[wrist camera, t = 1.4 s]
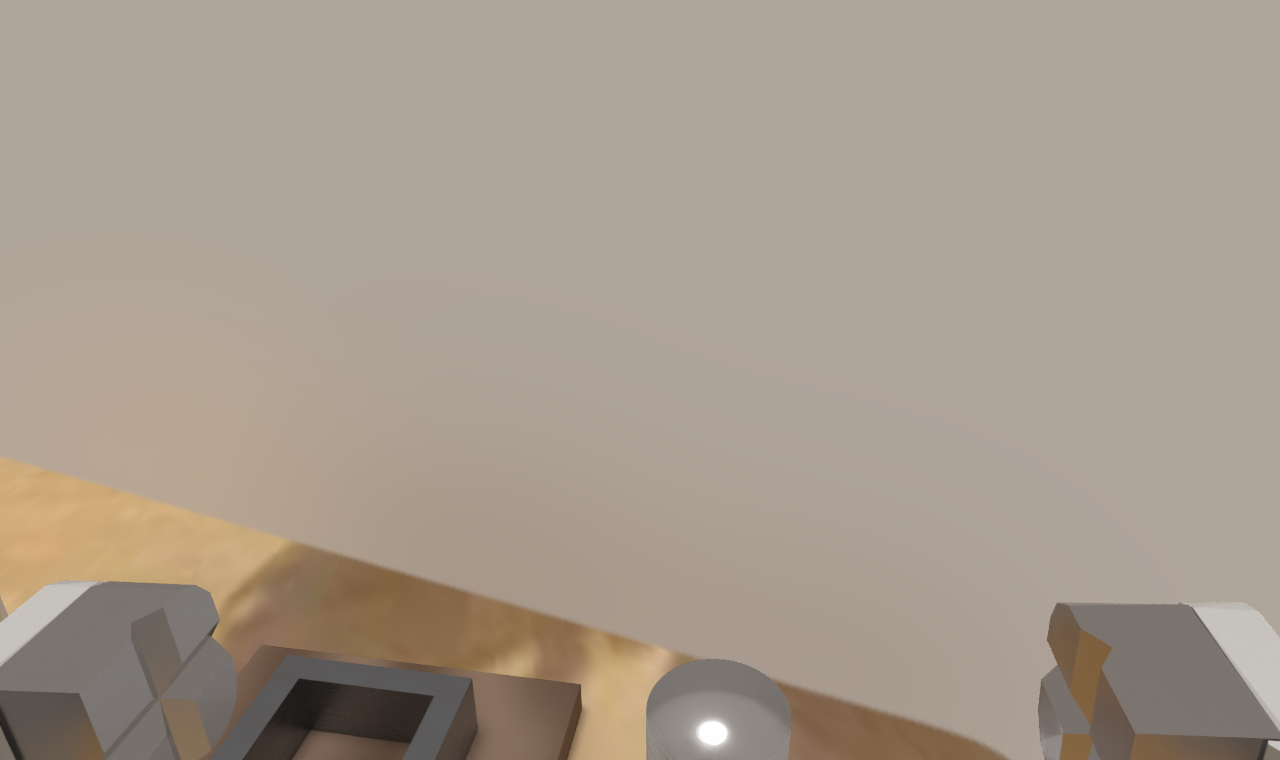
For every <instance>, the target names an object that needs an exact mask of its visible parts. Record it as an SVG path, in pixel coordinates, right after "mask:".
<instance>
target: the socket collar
mask: <svg viewBox="0 0 1280 760" xmlns="http://www.w3.org/2000/svg"><path fill="white" fill-rule="evenodd" d="M311 730H314V731H321V732H329V733H336V734H343V735H350V736H357V737H365V738H372V739H379V740H386V741H393V742H401V743H408V744H410V746H409V748H408V750H407V752H406V754H405V756H404V758H403V760H466V758H467V755H468V753H469V751H470V748H471V746H472V743H473V741H474V739H475V736H476V734H477V732H478V723H477V715H476V706H475V698H474V690H473V681H472V678H468V677H460V676H452V675H444V674H436V673H428V672H420V671H412V670H404V669H396V668H388V667H380V666H372V665H364V664H356V663H348V662H340V661H333V660H325V659H317V658H309V657H301V656H293V655H287V656H286V657H285V659H284V660H283V662H282V663H281V664H280V666H279V667H278V668H277V670H276V671H275V672H274V674H273V675H272V676H271V678H270V679H269V681H268V682H267V683H266V685H265V686H264V687H263V689H262V690H261V691H260V693H259V694H258V695H257V697H256V698H255V700H254V701H253V702H252V704H251V705H250V706H249V708H248V709H247V710H246V712H245V713H244V714H243V716H242V717H241V719H240V720H239V721H238V723H237V724H236V725H235V727H234V728H233V729H232V731H231V732H230V733H229V735H228V736H227V738H226V739H225V740H224V742H223V743H222V744H221V746H220V747H219V748H218V750H217V751H216V752H215V754H214V755H213V757H212V758H211V759H210V760H292V759H293V758H294V756H295V754H296V753H297V751H298V750H299V748H300V747H301V745H302V743H303V742H304V740H305V739H306V737H307V735H308V734H309V732H310V731H311Z"/></svg>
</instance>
